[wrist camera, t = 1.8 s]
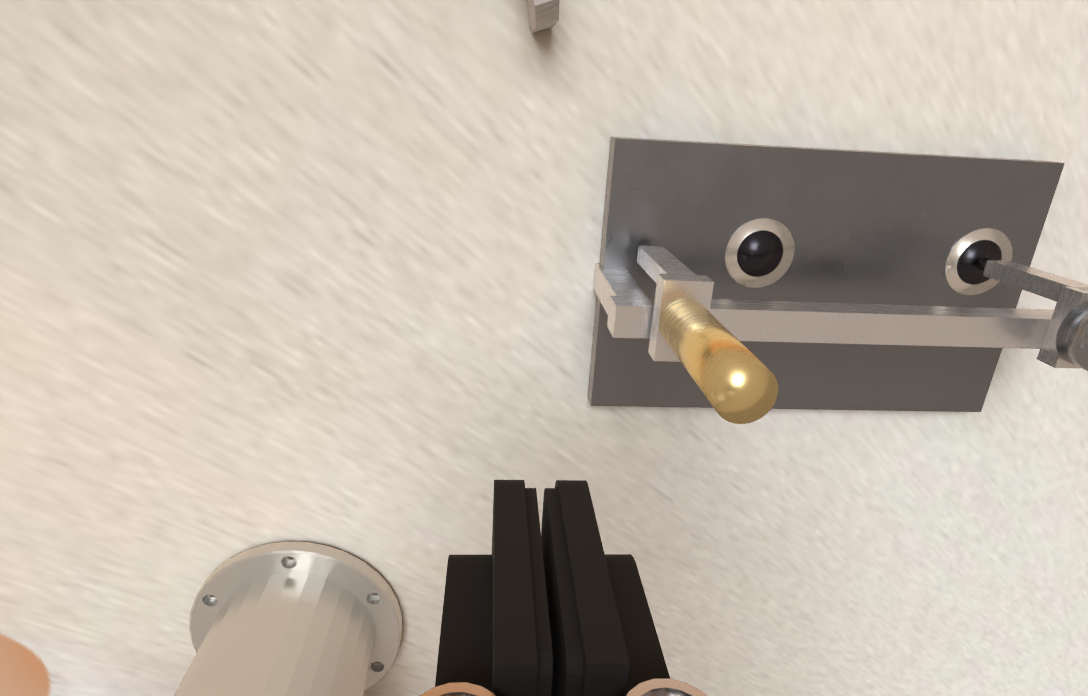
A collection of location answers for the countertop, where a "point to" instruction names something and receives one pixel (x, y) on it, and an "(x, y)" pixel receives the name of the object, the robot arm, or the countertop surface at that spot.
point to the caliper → (542, 14)
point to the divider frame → (885, 317)
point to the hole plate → (820, 260)
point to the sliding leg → (703, 341)
